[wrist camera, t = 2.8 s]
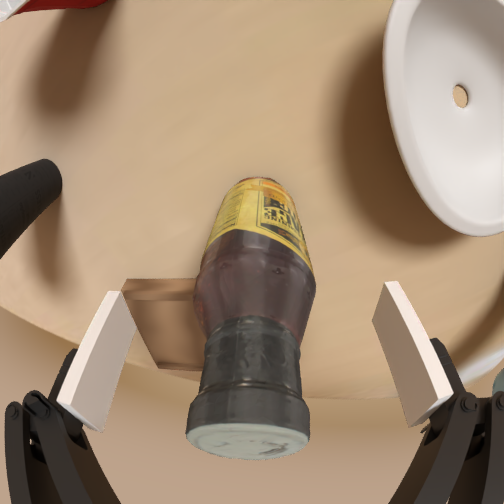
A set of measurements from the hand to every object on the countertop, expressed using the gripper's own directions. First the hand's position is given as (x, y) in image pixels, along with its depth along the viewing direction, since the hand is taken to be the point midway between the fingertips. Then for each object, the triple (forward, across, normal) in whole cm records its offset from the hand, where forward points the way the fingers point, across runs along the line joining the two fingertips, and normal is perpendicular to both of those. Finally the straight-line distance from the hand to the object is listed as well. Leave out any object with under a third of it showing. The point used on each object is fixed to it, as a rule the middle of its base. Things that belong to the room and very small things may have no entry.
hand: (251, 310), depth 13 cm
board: (+13, +7, +15) cm, 21 cm away
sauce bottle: (+13, 0, 0) cm, 13 cm away
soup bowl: (+13, -20, -12) cm, 27 cm away
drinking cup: (+14, +22, -5) cm, 26 cm away
